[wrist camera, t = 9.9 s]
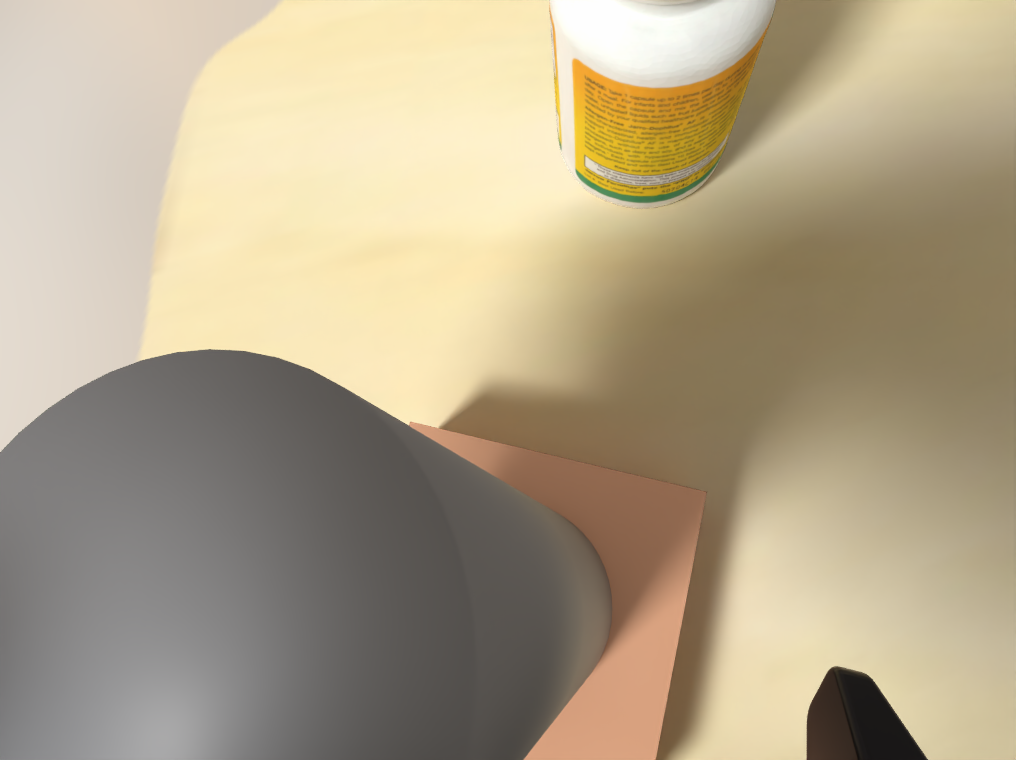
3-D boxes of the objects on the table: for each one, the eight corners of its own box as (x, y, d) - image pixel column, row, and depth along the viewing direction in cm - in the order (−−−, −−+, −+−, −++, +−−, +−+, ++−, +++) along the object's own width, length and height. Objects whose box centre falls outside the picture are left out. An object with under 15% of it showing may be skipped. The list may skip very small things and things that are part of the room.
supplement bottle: (531, 114, 24) (495, -163, 15) (673, 42, 24) (726, -279, 15) (607, 244, 23) (620, 28, 13) (757, 167, 23) (875, -100, 13)
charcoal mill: (579, 745, 16) (327, 1228, 4) (389, 669, 18) (-216, 871, 6) (636, 535, 17) (563, 435, 5) (451, 478, 19) (50, 296, 7)
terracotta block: (634, 788, 19) (642, 830, 16) (360, 704, 21) (323, 729, 18) (690, 499, 21) (706, 491, 18) (433, 438, 22) (409, 421, 19)
